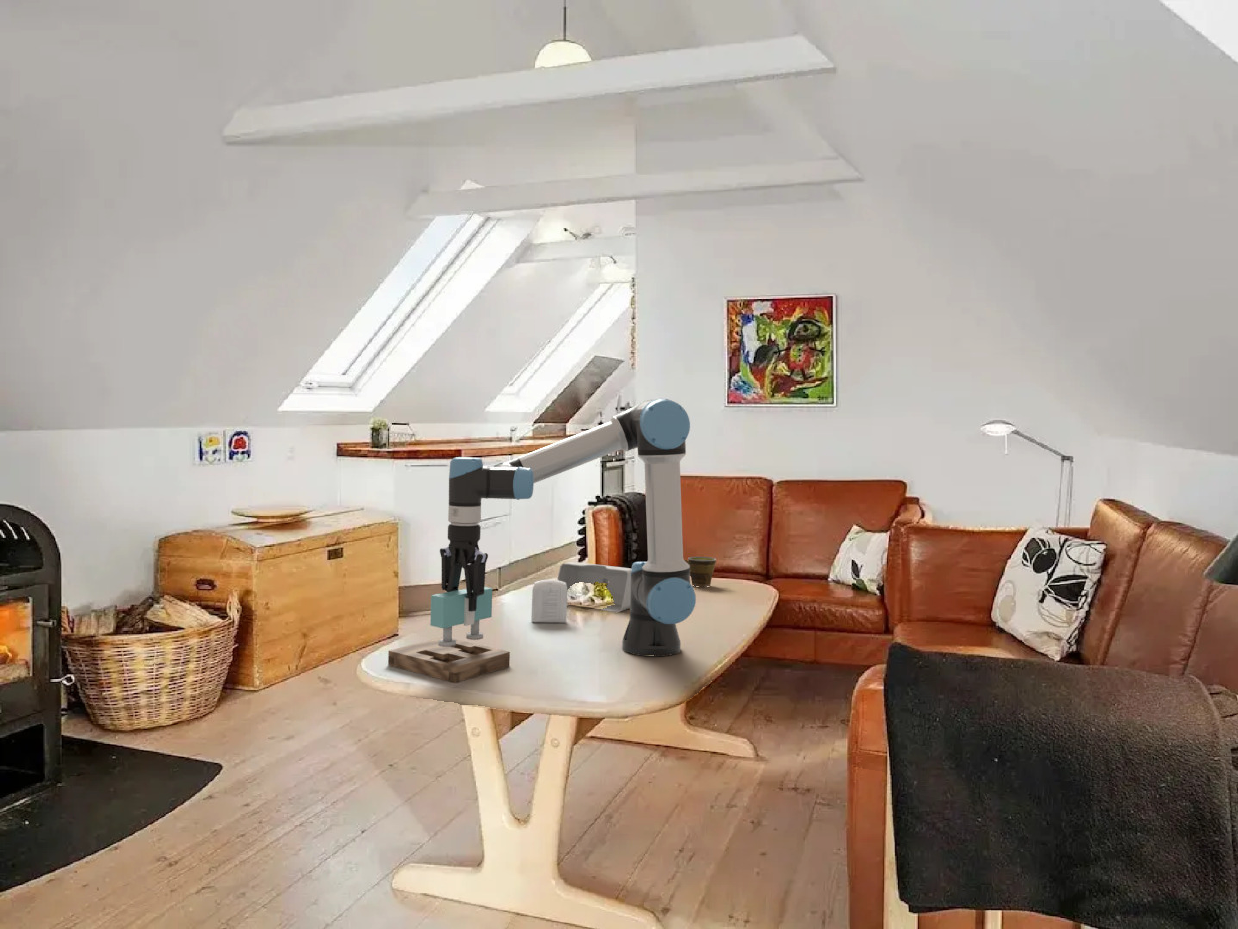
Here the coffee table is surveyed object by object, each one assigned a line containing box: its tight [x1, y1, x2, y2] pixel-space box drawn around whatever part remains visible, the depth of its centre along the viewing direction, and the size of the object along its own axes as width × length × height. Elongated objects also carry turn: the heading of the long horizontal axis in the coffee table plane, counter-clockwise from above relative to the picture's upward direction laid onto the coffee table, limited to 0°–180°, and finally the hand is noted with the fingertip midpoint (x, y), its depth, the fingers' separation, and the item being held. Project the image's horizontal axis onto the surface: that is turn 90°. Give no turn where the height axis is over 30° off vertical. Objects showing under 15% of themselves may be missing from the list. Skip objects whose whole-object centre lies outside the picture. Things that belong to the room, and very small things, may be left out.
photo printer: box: [530, 579, 568, 624], centre depth 265 cm, size 10×4×12 cm, turn 98°
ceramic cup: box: [684, 556, 717, 588], centre depth 329 cm, size 13×10×10 cm
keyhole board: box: [387, 636, 511, 684], centre depth 215 cm, size 22×18×4 cm
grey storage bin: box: [556, 561, 632, 613], centre depth 293 cm, size 25×16×12 cm, turn 62°
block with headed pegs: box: [430, 586, 493, 647], centre depth 212 cm, size 4×16×12 cm, turn 145°
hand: (461, 622), depth 212 cm, fingers closed on block with headed pegs, 4 cm apart
